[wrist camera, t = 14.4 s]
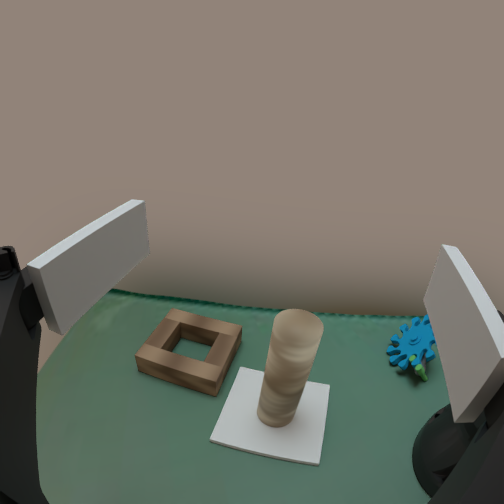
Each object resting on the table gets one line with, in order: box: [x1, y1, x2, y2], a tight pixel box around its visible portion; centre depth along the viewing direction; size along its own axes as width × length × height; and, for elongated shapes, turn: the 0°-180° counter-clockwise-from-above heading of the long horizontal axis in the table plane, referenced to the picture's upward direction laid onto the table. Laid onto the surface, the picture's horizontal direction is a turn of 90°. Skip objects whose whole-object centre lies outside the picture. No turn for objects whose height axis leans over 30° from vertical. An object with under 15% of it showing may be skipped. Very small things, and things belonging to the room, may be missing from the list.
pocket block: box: [135, 308, 242, 396], centre depth 41 cm, size 11×11×3 cm
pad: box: [210, 367, 330, 466], centre depth 33 cm, size 12×12×1 cm
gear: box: [387, 314, 437, 381], centre depth 41 cm, size 11×6×10 cm
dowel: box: [257, 309, 324, 427], centre depth 30 cm, size 4×4×14 cm
